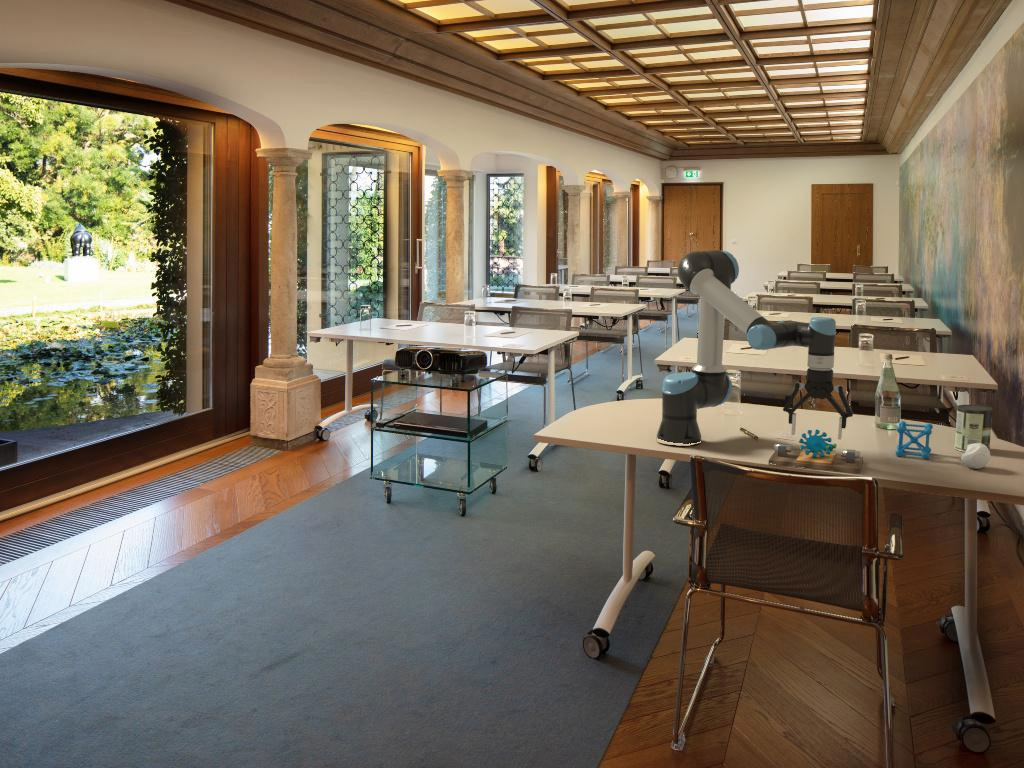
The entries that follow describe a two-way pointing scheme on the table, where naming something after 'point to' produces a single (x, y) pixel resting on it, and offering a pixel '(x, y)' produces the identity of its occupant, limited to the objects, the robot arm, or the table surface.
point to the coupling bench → (817, 461)
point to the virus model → (816, 444)
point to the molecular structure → (914, 439)
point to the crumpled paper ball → (976, 456)
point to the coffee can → (973, 426)
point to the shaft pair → (847, 453)
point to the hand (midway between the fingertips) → (816, 436)
